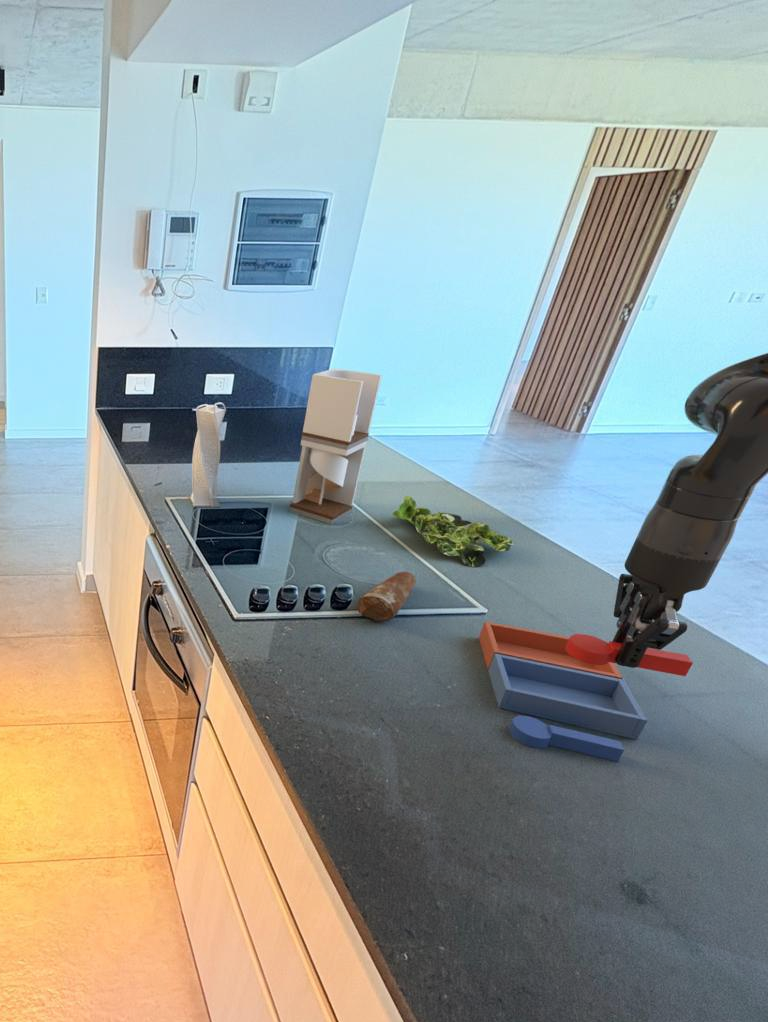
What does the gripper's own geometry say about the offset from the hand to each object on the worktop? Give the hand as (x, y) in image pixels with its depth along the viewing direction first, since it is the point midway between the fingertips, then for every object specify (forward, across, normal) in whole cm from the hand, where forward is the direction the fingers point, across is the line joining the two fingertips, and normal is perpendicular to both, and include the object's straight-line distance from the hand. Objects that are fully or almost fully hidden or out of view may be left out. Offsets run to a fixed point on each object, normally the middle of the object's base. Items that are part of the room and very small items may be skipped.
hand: (621, 659), depth 81 cm
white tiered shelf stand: (+14, +71, +37) cm, 81 cm away
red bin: (+14, +18, +1) cm, 22 cm away
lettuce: (+14, +65, +9) cm, 67 cm away
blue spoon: (+14, -2, +2) cm, 14 cm away
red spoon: (0, 0, -1) cm, 1 cm away
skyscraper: (+14, +66, +66) cm, 94 cm away
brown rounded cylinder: (+14, +29, +24) cm, 40 cm away
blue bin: (+14, +8, +1) cm, 16 cm away
